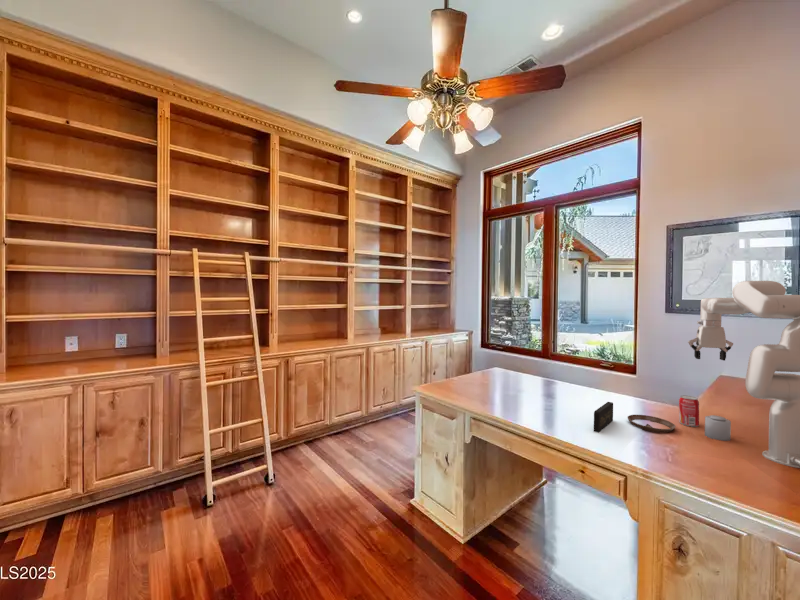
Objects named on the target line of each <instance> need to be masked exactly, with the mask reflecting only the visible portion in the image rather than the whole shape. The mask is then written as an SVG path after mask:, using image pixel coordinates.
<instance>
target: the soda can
mask: <svg viewBox="0 0 800 600" xmlns="http://www.w3.org/2000/svg"><path fill="white" fill-rule="evenodd" d="M678 414H679V415H678V422H679V423H680V424H681V425H682V424H683V425H682V426H685V425H686V426H685V427H689V426H691V427H690V428H697V427H699V426H700V402H699V398H698V397H696V396H692V395H680V397H679V399H678Z"/></svg>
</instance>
